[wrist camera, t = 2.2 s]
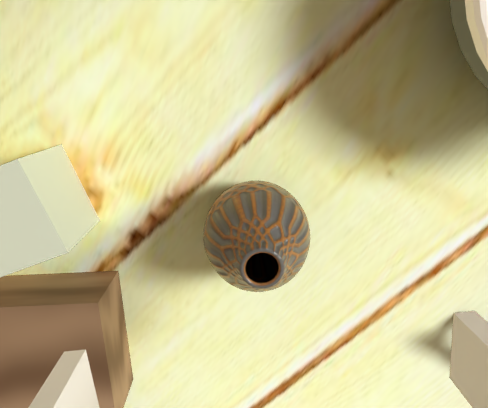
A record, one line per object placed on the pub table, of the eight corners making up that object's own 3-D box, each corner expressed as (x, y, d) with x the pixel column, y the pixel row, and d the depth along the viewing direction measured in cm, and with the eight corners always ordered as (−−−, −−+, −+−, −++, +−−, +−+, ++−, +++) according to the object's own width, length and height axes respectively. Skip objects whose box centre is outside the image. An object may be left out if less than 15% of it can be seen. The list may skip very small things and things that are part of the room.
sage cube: (-15, 173, 28) (-79, 196, 22) (62, 144, 28) (17, 158, 22) (27, 246, 30) (-22, 285, 24) (100, 220, 29) (68, 252, 23)
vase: (234, 274, 31) (234, 344, 22) (190, 198, 29) (172, 244, 20) (314, 235, 30) (346, 293, 22) (274, 155, 28) (293, 183, 20)
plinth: (-11, 275, 30) (-57, 309, 26) (119, 269, 31) (98, 302, 26) (14, 382, 33) (-22, 432, 28) (133, 376, 33) (117, 425, 29)
